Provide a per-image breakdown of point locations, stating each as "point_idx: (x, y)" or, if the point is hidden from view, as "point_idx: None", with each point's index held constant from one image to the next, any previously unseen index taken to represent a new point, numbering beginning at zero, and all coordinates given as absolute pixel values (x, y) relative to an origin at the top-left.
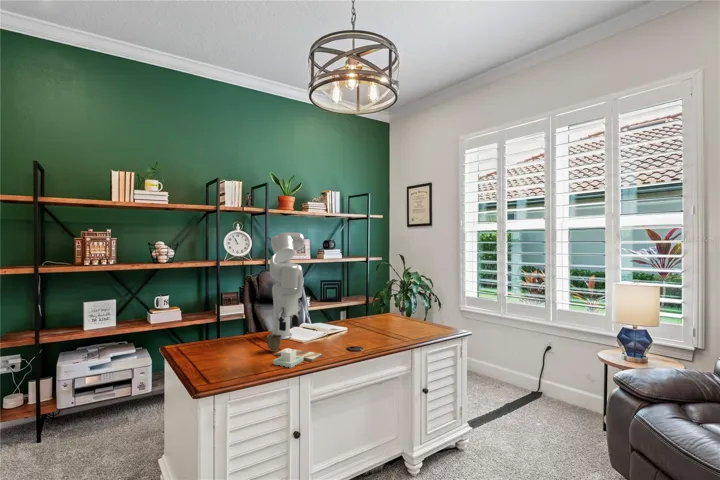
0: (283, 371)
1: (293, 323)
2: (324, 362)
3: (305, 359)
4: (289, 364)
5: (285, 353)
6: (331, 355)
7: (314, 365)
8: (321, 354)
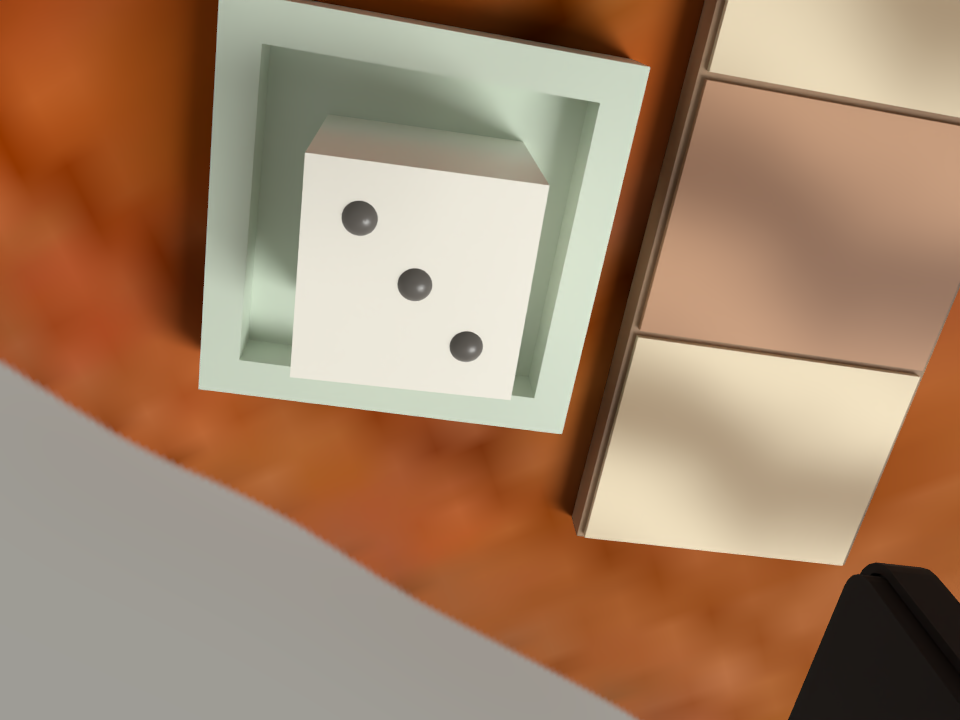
0: (36, 316)
1: (873, 708)
2: (585, 653)
3: (600, 419)
4: (204, 350)
5: (301, 258)
6: None
7: (436, 591)
8: (828, 562)
